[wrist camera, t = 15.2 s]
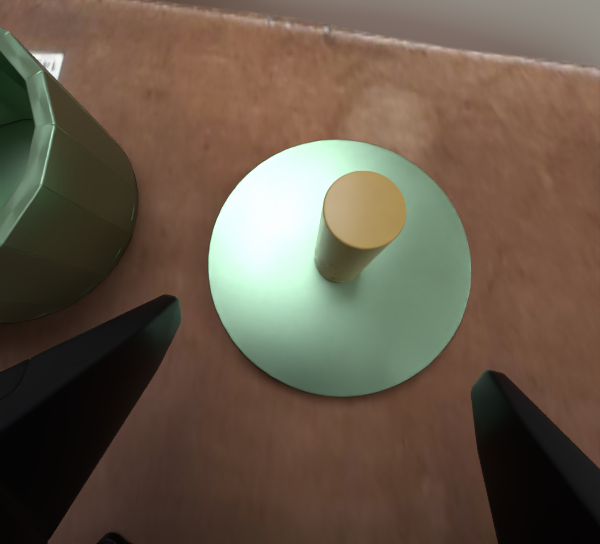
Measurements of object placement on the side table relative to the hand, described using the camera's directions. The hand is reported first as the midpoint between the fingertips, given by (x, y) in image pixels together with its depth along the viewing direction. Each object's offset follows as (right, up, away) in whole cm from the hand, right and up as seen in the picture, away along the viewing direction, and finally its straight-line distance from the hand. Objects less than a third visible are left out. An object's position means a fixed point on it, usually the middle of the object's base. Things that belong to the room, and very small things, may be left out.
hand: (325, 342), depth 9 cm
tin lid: (+1, +3, +7) cm, 8 cm away
